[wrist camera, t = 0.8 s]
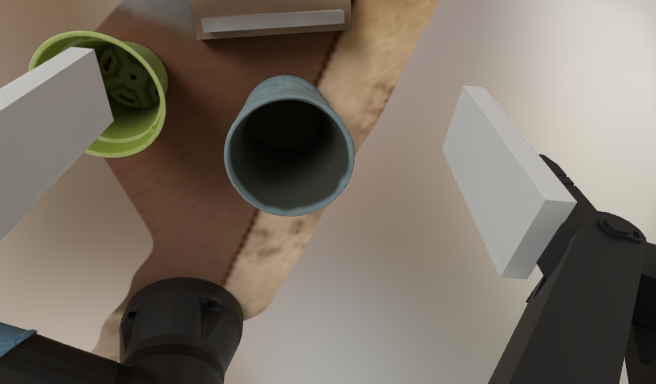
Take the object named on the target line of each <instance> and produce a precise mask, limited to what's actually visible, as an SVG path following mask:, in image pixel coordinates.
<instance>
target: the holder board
mask: <svg viewBox="0 0 656 384" xmlns="http://www.w3.org/2000/svg"><path fill="white" fill-rule="evenodd" d="M189 3H190V8H191V13H192V18H193V23H194V28H195V33H196V38H197V40H203V39H218V38H233V37H248V36H263V35H278V34H293V33H308V32H323V31H337V30H351V0H189Z"/></svg>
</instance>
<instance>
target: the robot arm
mask: <svg viewBox="0 0 656 384" xmlns="http://www.w3.org/2000/svg"><path fill="white" fill-rule="evenodd" d="M113 121H114V120H113V116H112V113H111V109H110V105H109V102H108V98H107V94H106V91H105V87H104V83H103V80H102V76H101V73H100V69H99V65H98V62H97V58H96V54H95V51H94V49H88V48H78V47H70V48H68V49H67V50H65V51H63V52H61V53H60V54H58V55H56V56H55V57H53V58H51V59H50V60H48V61H46V62H44V63H43V64H41V65H39V66H38V67H36V68H34V69H33V70H31V71H29V72H28V73H26V74H24V75H23V76H21V77H19V78H17V79H16V80H14V81H12V82H11V83H9V84H7V85H6V86H4V87H2V88H0V240H1V239H2V238H3V237H4V236H5V235H6V234H7V233H8V232H9V231H10V230H11V229H12V227H14V225H15V224H16V223H17V222H18V221H19V220H20V219H21V218H22V217H23V216H24V215H25V214H26V213H27V212H28V211H29V210H30V209H31V208H32V206H33V205H34V204H35V203H36V202H37V201H38V200H39V199H40V198H41V197H42V196H43V195H44V194H45V193H46V191H48V190H49V189H50V187H51V186H52V185H53V184H54V183H55V182H56V181H57V180H58V179H59V178H60V177H61V176H62V175H63V174H64V173H65V172H66V171H67V169H69V167H70V166H71V165H72V164H73V163H74V162H75V161H76V160H77V159H78V158H79V157H80V156H81V155H82V154H83V153H84V152H85V151H86V150H87V148H88V147H89V146H90V145H91V144H92V143H93V142H94V141H95V140H96V139H97V138H98V137H99V136H100V135H101V134H102V133H103V132H104V131H105V130H106V128H107V127H108V126H109V125H110V124H111V123H112V122H113ZM442 150H443V152H444V154H445V156H446V159H447V161H448V163H449V166H450V168H451V170H452V172H453V174H454V177H455V179H456V181H457V183H458V185H459V188H460V190H461V192H462V194H463V197H464V199H465V201H466V203H467V205H468V208H469V210H470V212H471V214H472V216H473V219H474V221H475V223H476V225H477V227H478V230H479V232H480V234H481V236H482V239H483V241H484V243H485V245H486V248H487V250H488V252H489V254H490V256H491V259H492V261H493V263H494V265H495V267H496V270H497V272H498V274H499V276H500V277H502V278H519V279H527V278H528V277H529V275H530V274H531V272H532V270H533V269H534V267H535V266H536V264H537V265H538V266H539V268H540V270H541V272H542V273H543V275H544V276H543V277H542V279H541V280H540V282H539V283H538V284H537V286H536V287H535V289H534V290H533V292H532V293H531V295H530V296H529V297H528V299H527V301H526V302H527V303H528V304H527V306H526V308H525V310H524V313H523V315H522V317H521V319H520V321H519V323H518V325H517V327H516V329H515V331H514V333H513V335H512V337H511V339H510V341H509V343H508V345H507V347H506V349H505V351H504V353H503V355H502V357H501V359H500V361H499V363H498V365H497V367H496V369H495V371H494V373H493V375H492V377H491V379H490V381H489V383H488V384H619V381H620V376H621V371H622V366H623V361H624V356H625V363H626V369H627V375H628V382H629V384H656V245H655V244H652V243H648V242H647V241H646V237H645V236H644V235H643V233H642V232H641V231H640V230H639V229H638V228H637V227H636V226H634V225H633V224H631V223H630V222H628V221H627V220H625V219H623V218H621V217H619V216H616V215H613V214H610V213H607V212H601V211H597V210H596V209H595V208H594V206H593V205H592V204H591V203H590V202H589V201H588V199H587V198H586V197H585V196H584V195H583V194H582V192H581V191H580V190H579V189H578V188H577V187H576V186H574V183H573V182H572V181H571V180H570V178H569V177H566V174H565V173H564V171H563V170H562V169H561V168H560V167H559V166H558V165H557V164H556V163H554V162H553V161H552V160H550V159H549V158H547V157H546V156H545V155H541V154H538V153H537V152H536V151H535V150H534V148H533V147H532V146H531V145H530V144H529V142H528V141H527V140H526V139H525V137H524V136H523V135H522V134H521V133H520V131H519V130H518V129H517V128H516V127H515V125H514V124H513V123H512V122H511V120H510V119H509V118H508V116H507V115H506V114H505V113H504V112H503V110H502V109H501V108H500V107H499V105H498V104H497V103H496V102H495V100H494V99H493V98H492V97H491V96H490V95H489V93H488V92H487V91H486V90H485V88H484V87H475V86H465V85H464V86H463V89H462V91H461V95H460V97H459V101H458V104H457V107H456V110H455V112H454V116H453V119H452V121H451V125H450V127H449V131H448V133H447V136H446V139H445V142H444V145H443V148H442ZM242 329H243V313H242V310H241V307H240V305H239V303H238V302H237V300H236V299H235V298H234V297H233V296H232V295H231V294H230V293H229V292H228V291H226V290H225V289H223V288H221V287H220V286H218V285H216V284H213V283H211V282H208V281H204V280H200V279H194V278H172V279H166V280H162V281H158V282H155V283H153V284H150V285H148V286H146V287H145V288H143V289H142V290H140V291H139V292H138V293H136V294H135V295H134V296H133V298H132V299H131V300H130V302H129V303H128V305H127V307H126V310H125V312H124V314H123V317H122V319H121V323H120V330H119V334H120V363H118V362H116V361H113V360H110V359H107V358H104V357H101V356H98V355H95V354H92V353H89V352H86V351H84V350H81V349H78V348H75V347H71V346H69V345H66V344H63V343H60V342H58V341H55V340H52V339H49V338H47V337H44V336H41V335H38V334H36V333H37V331H36V330H33V329H32V330H25V329H21V328H18V327H15V326H11V325H8V324H5V323H1V322H0V384H223V383H224V376H225V372H226V370H227V368H228V366H229V364H230V362H231V360H232V358H233V356H234V353H235V351H236V349H237V347H238V345H239V343H240V340H241V336H242Z"/></svg>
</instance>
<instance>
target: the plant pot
mask: <svg viewBox="0 0 656 384" xmlns="http://www.w3.org/2000/svg"><path fill="white" fill-rule="evenodd" d="M70 47H78V48H88V49H94V51H95V54H96V58H97V62H98V65H99V69H100V73H101V76H102V80H103V83H104V87H105V91H106V94H107V98H108V102H109V105H110V109H111V113H112V116H113V120H114V121H113V122H112V123H111V124H110V125H109V126H108V127H107V128H106V130H105V131H104V132H103V133H102V134H101V135H100V136H99V137H98V138H97V139H96V140H95V141H94V142H93V143H92V144H91V145H90V146H89V147H88V148H87V150H86V151H85V152H84V153H87V154H90V155H94V156H99V157H108V158H117V157H124V156H129V155H132V154H135V153H138V152H140V151H142V150H144V149H145V148H147V147H148V146H149V145H150V144H151V143H152V142H153V141H154V140H155V139H156V138H157V136H158V135H159V133H160V131H161V129H162V127H163V125H164V121H165V116H166V100H165V94H166V91H167V88H168V76H167V73H166V70H165V67H164V65H163V63H162V62H161V60H160V59H159V57H158V56H157V55H156V54H155V53H154V52H152V51H151V50H150V49H148V48H147V47H145V46H143V45H140V44H137V43H133V42H125V41H120V40H117V39H115V38H113V37H110V36H108V35H105V34H101V33H97V32H91V31H72V32H66V33H62V34H59V35H57V36H54V37H52V38H50V39H49V40H47V41H45V42H44V43H43V44H42V45H41V46H40V47H39V48H38V49H37V51H36V52H35V54H34V55H33V57H32V59H31V62H30V65H29V69H28V72H29V71H31V70H33V69H34V68H36V67H38V66H39V65H41V64H43V63H44V62H46V61H48V60H50V59H51V58H53V57H55V56H56V55H58V54H60V53H61V52H63V51H65V50H67V49H68V48H70ZM109 57H111V58H112V61H111V63H110V65H109V70H108V71H106V70H105V67H104V66H105V63H106V60H107V59H108V58H109ZM132 74H133V75H135V76H136V79H135V80H133V79H131V78H130V75H132ZM157 89H158V92H159V94H158V95H156V94H155V92H156V90H157ZM120 94H122V95H124V96H125V97H127V98H129V99H132V100H134V101H133V102H129V101H126V100H124V99H122V98H121V97H120V96H119V95H120Z"/></svg>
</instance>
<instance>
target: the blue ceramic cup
mask: <svg viewBox="0 0 656 384" xmlns="http://www.w3.org/2000/svg"><path fill="white" fill-rule="evenodd" d="M224 162H225V168H226V171H227V174H228V177H229V179H230V181H231V183H232V185H233V186H234V187H235V189H236V190H237V191H238V192H239V193H240V195H241V196H242V197H243V198H244V199H245V200H246V201H247V202H249V203H250V204H251V205H253V206H254V207H256V208H258V209H260V210H262V211H264V212H267V213H270V214H273V215H278V216H301V215H305V214H309V213H312V212H315V211H317V210H320V209H321V208H323V207H325V206H327V205H328V204H330V203H331V202H332V201H333V200H334V199H336V197H338V196H339V195H340V194H341V192H342V191H343V190H344V188H345V187H346V185H347V183H348V181H349V179H350V177H351V174H352V171H353V166H354V147H353V141H352V138H351V135H350V133H349V131H348V129H347V128H346V126H345V124H344V123H343V121H342V120H341V118H340V117H339V116H338V115H337V114H336V112H335V111H334V110H333V109H332V108H331V107H330V105H329V104H328V103H327V102H326V100H325V99H324V98H323V96H322V95H321V93H320V92H319V91H318V89H317V88H316V87H315V86H314V85H312V84H311V83H310V82H308V81H307V80H305V79H303V78H300V77H297V76H293V75H279V76H274V77H271V78H269V79H267V80H265V81H263V82H261V83H260V84H259V85H258V86H257V87H256V88H255V89H254V90H253V91H252V92H251V94H250V96H249V97H248V99H247V101H246V104H245V105H244V107H243V108H242V110H241V112H240V113H239V115H238V117H237V119H236V120H235V122H234V123H233V125H232V126H231V128H230V130H229V132H228V135H227V138H226V142H225V147H224Z"/></svg>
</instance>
